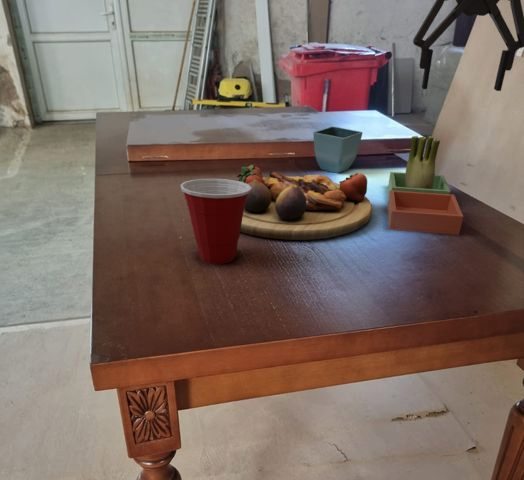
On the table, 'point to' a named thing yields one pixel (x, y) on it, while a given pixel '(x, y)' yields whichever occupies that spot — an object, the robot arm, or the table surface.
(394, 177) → the green bin
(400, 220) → the terracotta bin
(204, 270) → the table surface
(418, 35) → the robot arm
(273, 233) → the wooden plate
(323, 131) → the flower pot
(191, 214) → the plastic cup
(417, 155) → the fennel bulb
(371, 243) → the table surface
